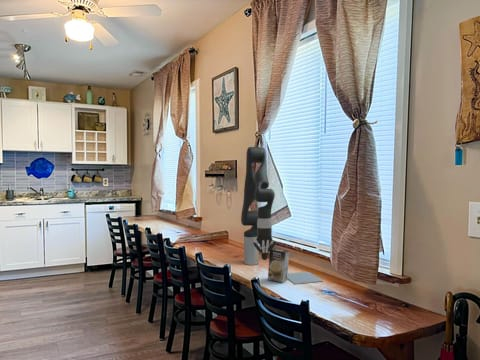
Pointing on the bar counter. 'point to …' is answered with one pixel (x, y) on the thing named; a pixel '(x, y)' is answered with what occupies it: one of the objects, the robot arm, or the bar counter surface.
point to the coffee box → (278, 265)
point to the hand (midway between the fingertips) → (264, 259)
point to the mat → (302, 278)
